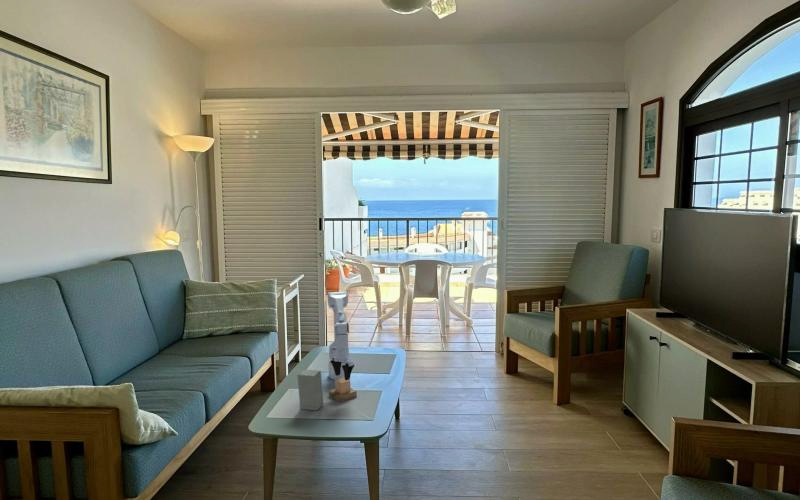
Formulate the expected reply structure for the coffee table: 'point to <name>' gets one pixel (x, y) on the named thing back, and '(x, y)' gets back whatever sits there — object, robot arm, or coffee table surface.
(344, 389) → the cube
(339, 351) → the robot arm
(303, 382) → the skincare box
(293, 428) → the coffee table surface
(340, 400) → the tan flat block
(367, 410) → the coffee table surface
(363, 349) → the coffee table surface
